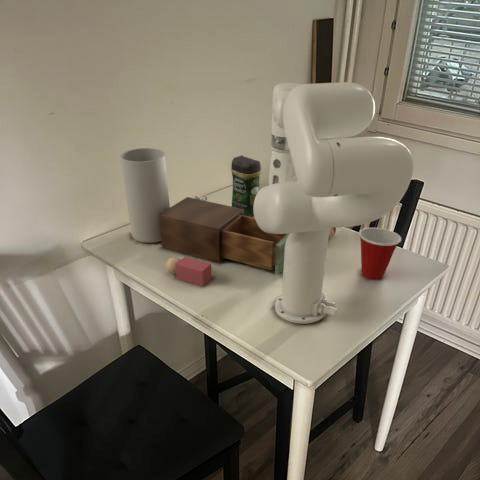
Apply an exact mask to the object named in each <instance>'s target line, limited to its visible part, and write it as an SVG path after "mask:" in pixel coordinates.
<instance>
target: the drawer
mask: <svg viewBox="0 0 480 480" xmlns="http://www.w3.org/2000/svg"><path fill="white" fill-rule="evenodd" d="M289 234H290V233H287V234H272V233H266V232H264V231H263V230H261V229H260V227H259V226H258V224H257V223H256V220H255V217H254V216H250V217H249V216H244V215H239V216H238V217H237V218H235V219H234V220H233V221H232V222H230V223H229V224H228V225H226V226H225V227H224V228H223V229H221V230H220V248H221V257H222V258H225V260H230V261H234V262H238V263H241V264H246V265H250V266H253V267H257V268H260V269H265V270H268V271H273V270H274V275H276V276H280V274H281V273H283V268H284V251H285V243H286V240H287V238H288V236H289Z"/></svg>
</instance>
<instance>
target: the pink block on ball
mask: <svg viewBox="0 0 480 480" xmlns="http://www.w3.org/2000/svg"><path fill="white" fill-rule="evenodd" d="M165 268H166V271H167V272H168V273H170V274H171V275H176V279H177V280H181V281H184V282H187V283H190V284H194V285H198V286H200V287H204V286H205V285H206V284H207V283H209V282H210V281H211V280H212V279H213V273H212V263H210V262H207V261H203V260H199V259H196V258H193V257H190V256H184V257H182V258H181V259H180V258H179V257H176V256H172V257H169V259H167V260H166V263H165Z"/></svg>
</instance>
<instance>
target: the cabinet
mask: <svg viewBox="0 0 480 480" xmlns="http://www.w3.org/2000/svg"><path fill="white" fill-rule="evenodd" d="M239 215H244V209H240V208H236V207H232V205H231V206H230V205H227V204H221V203H216V202H212V201H208V200H206V201H203V200H199V199H196V198H195V197H189V196H187V197H184V198H183V199H181V200H180V201H179V202H177V203H175V204H174V205H172V206H170V208H169V209H167V210H165V211H164V212H162V213H161V214H159V220H160V230H161V239H162V241H161V248H162V249H164V250H168V251H172V252H175V253H179V254H182V255H186V256H189V257H192V258H198V259H201V260H204V261H209V262H212V263H216V264H221V263H222V262H223V261H224V260H226V258H222V257H221V248H220V230H221V229H223V228H224V227H225V226H226V225H228V224H229V223H230V222H232V221H233V220H234V219H235V218H237V217H238V216H239Z"/></svg>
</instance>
